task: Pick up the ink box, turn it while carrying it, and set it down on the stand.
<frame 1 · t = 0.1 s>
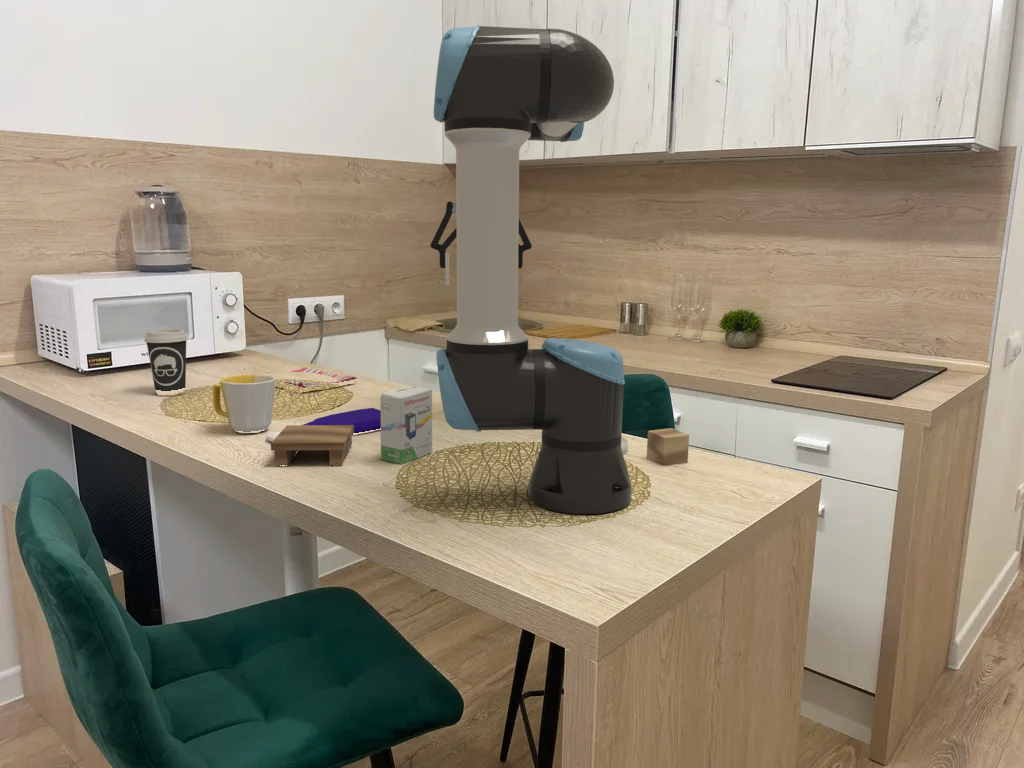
hand: (481, 285, 156), 28 cm above the counter, fingers open, 13 cm apart
purple bottle shape: (330, 435, 149), on the counter
ink box: (407, 457, 134), on the counter
oak block: (666, 460, 133), on the counter
pale grey dome: (602, 451, 139), on the counter
coffee cup: (170, 394, 184), on the counter
dish towel: (303, 385, 197), on the counter
stand: (315, 455, 134), on the counter
mug: (245, 430, 151), on the counter
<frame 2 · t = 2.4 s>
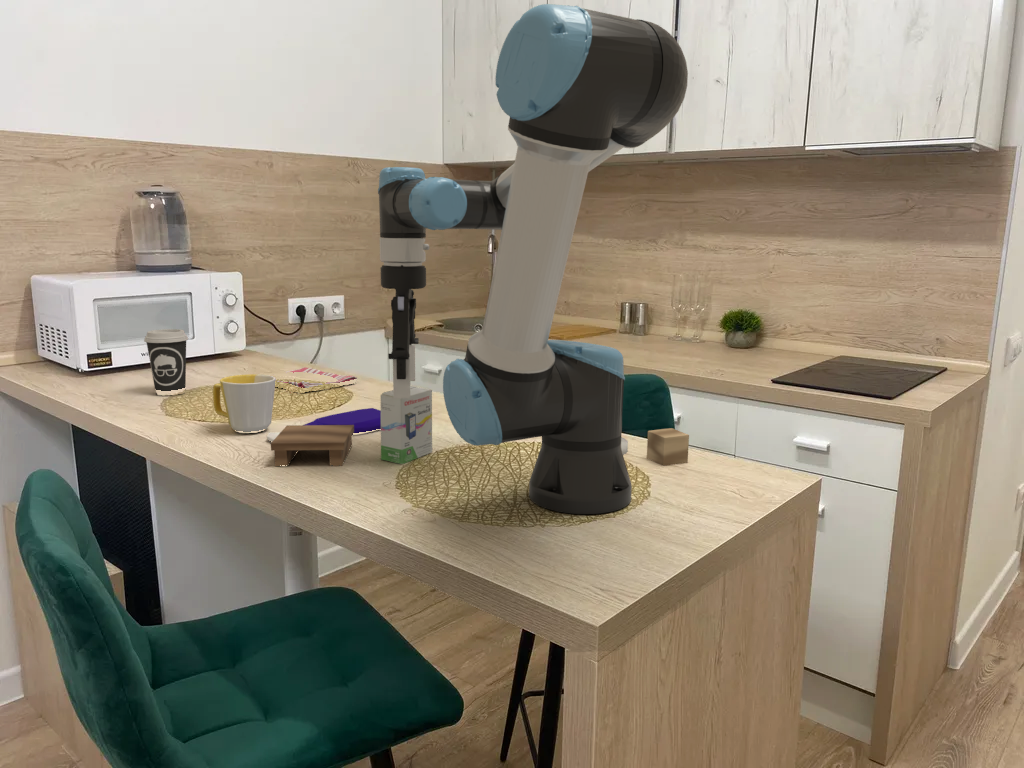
hand: (404, 389, 132), 12 cm above the counter, fingers open, 13 cm apart
nothing on the counter moved.
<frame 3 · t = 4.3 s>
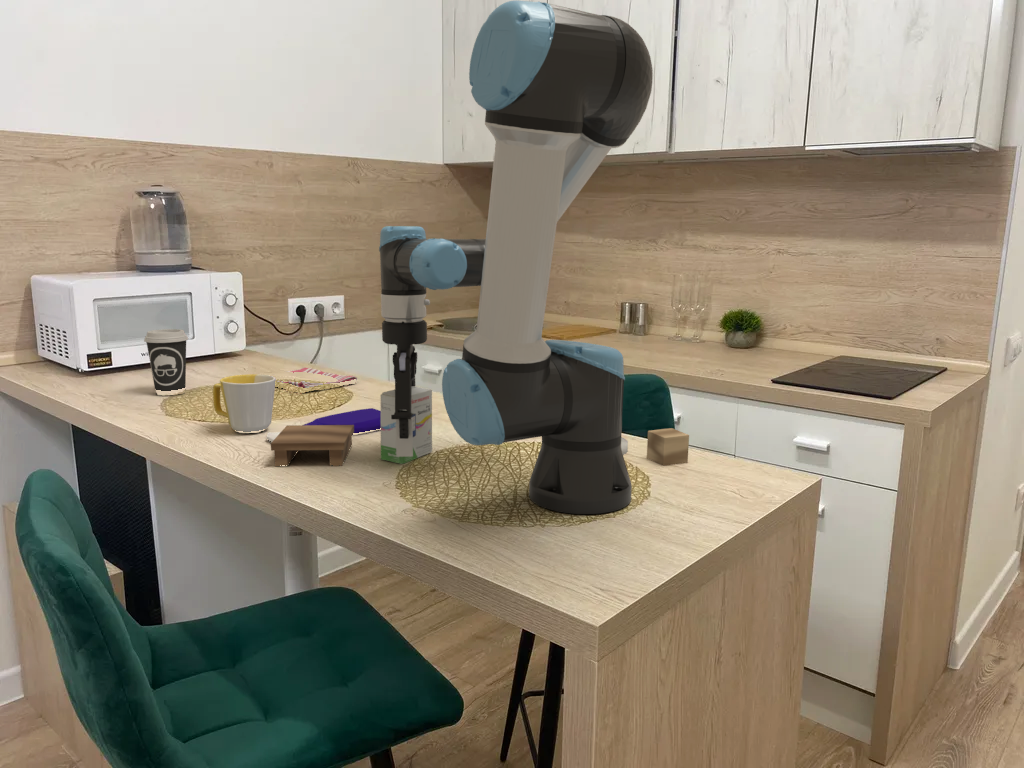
hand: (406, 447, 133), 2 cm above the counter, fingers closed on ink box, 9 cm apart
ink box: (407, 457, 134), on the counter, touching gripper
everything else where it was.
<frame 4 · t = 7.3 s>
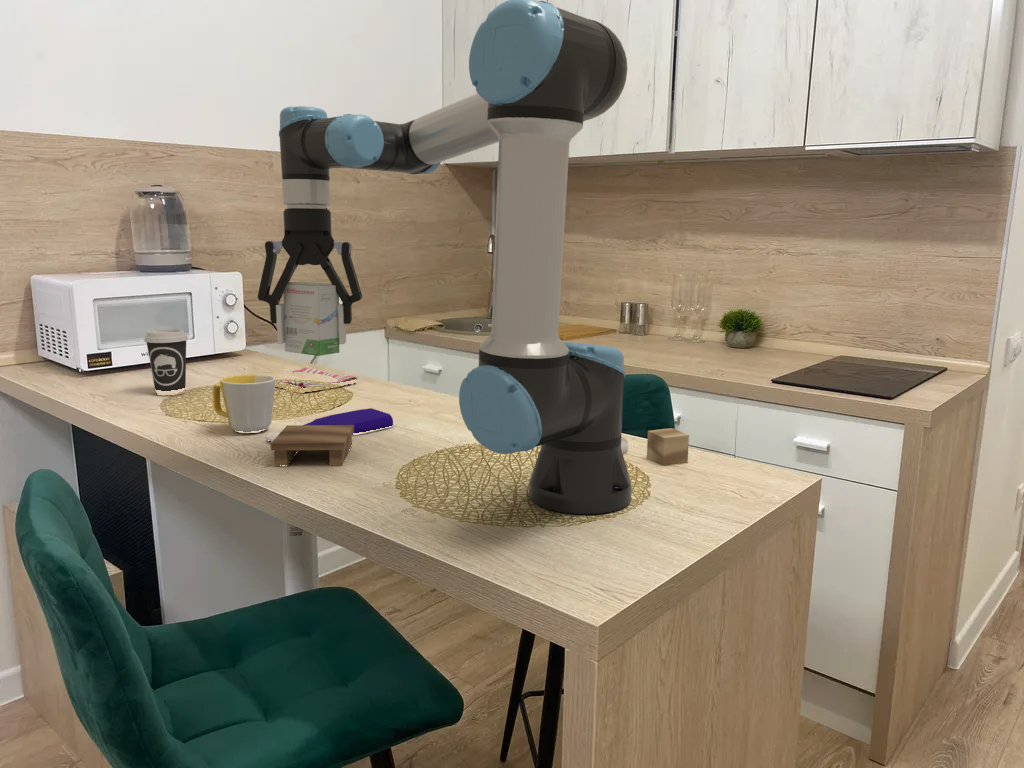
hand: (312, 342, 130), 20 cm above the counter, fingers closed on ink box, 9 cm apart
ink box: (313, 353, 130), point 18 cm above the counter, touching gripper
everything else where it was.
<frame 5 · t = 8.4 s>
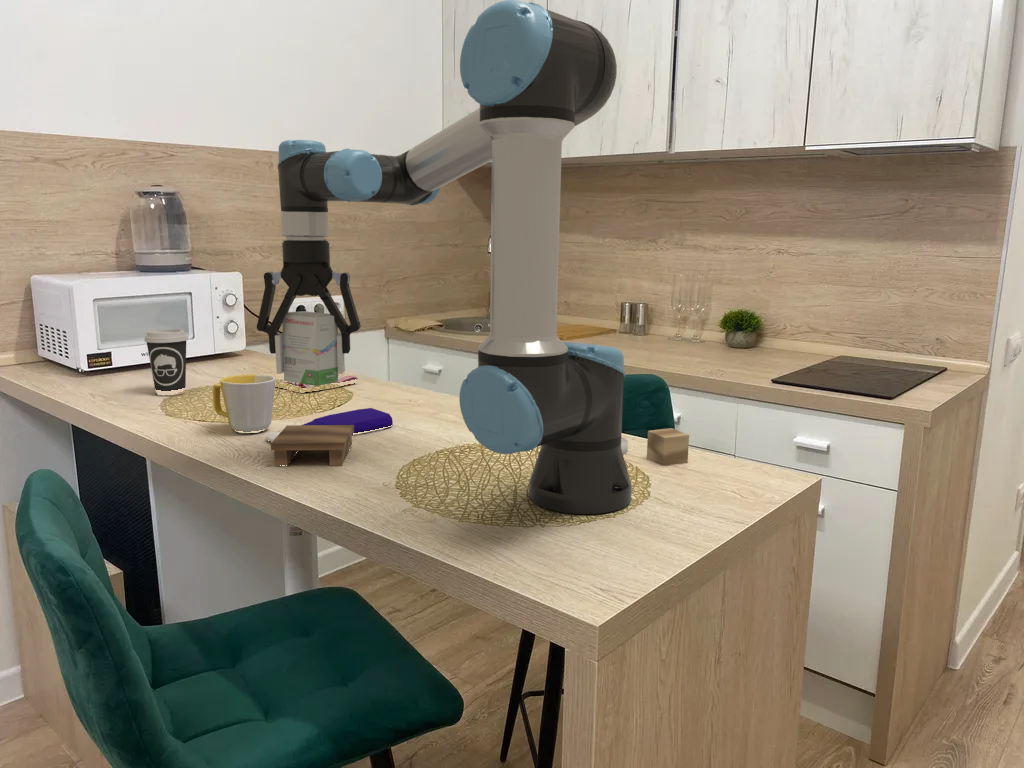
hand: (311, 372, 131), 15 cm above the counter, fingers closed on ink box, 9 cm apart
ink box: (311, 382, 131), point 13 cm above the counter, touching gripper
everything else where it was.
when the fingers open (7 cm above the counter, at t = 10.7 s): ink box stays where it is, resting on stand.
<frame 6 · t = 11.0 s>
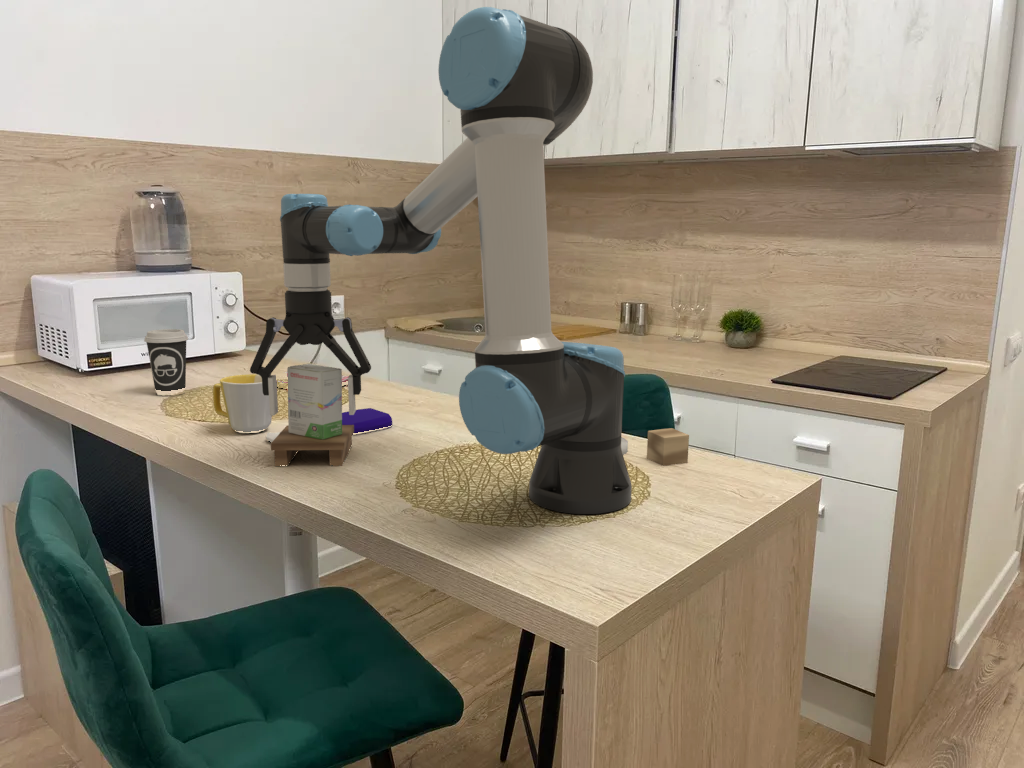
hand: (313, 413, 132), 8 cm above the counter, fingers open, 13 cm apart
ink box: (316, 434, 133), point 4 cm above the counter, touching stand
everything else where it was.
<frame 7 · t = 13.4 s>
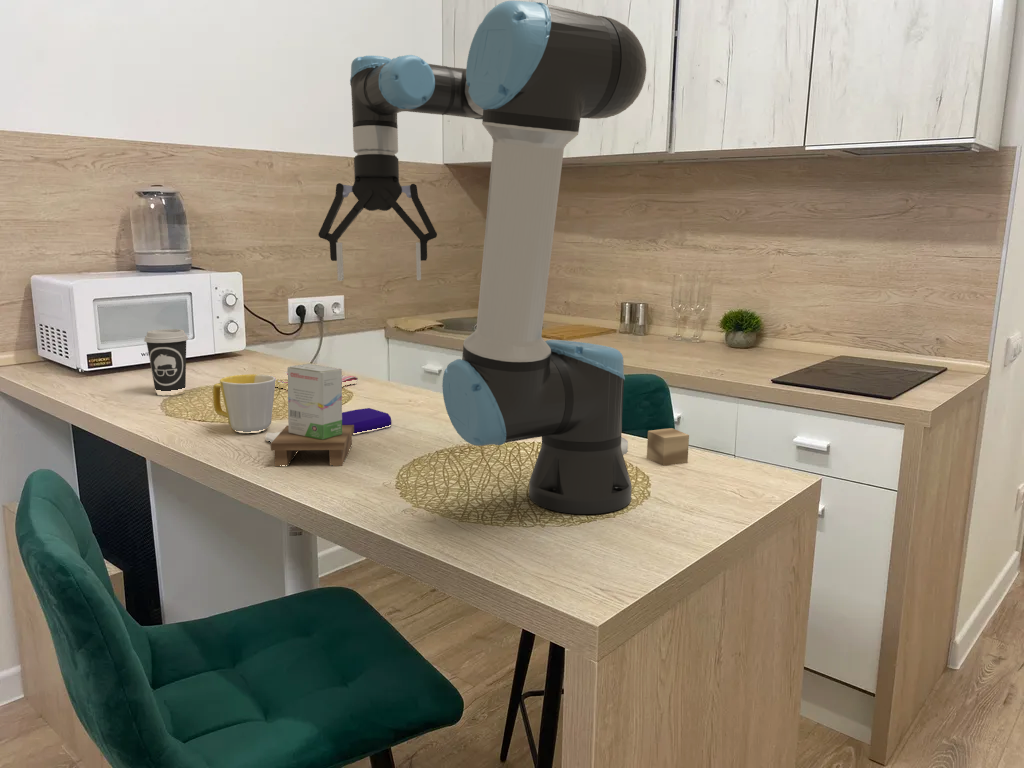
hand: (380, 280, 135), 30 cm above the counter, fingers open, 13 cm apart
nothing on the counter moved.
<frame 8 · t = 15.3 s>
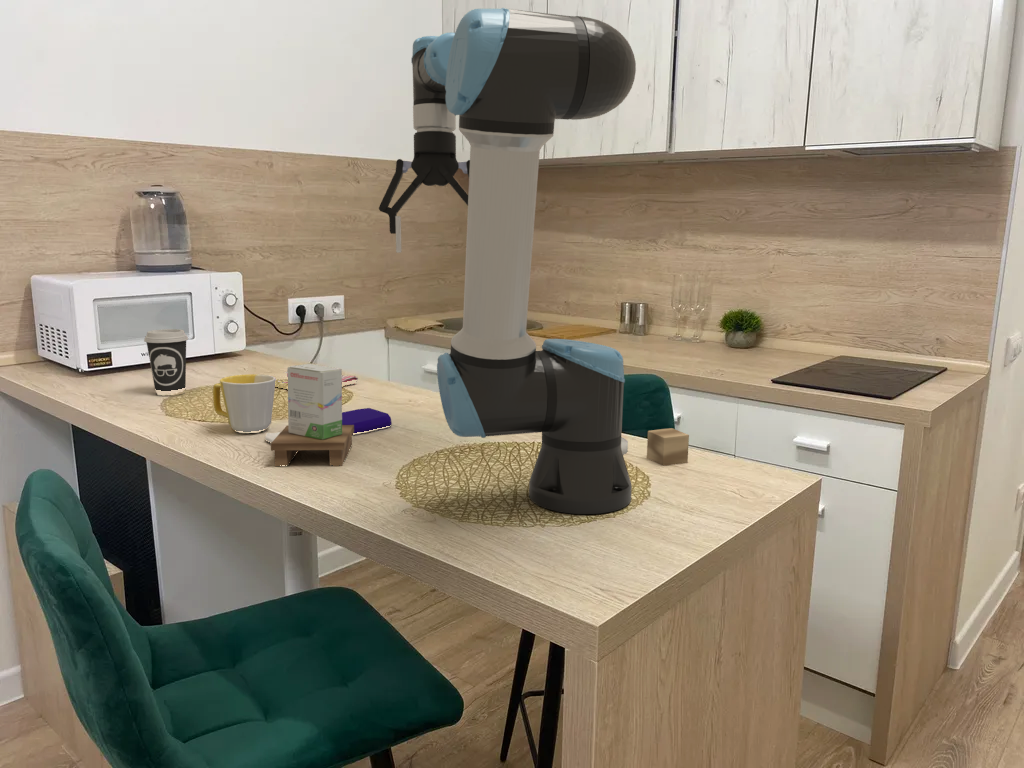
hand: (436, 252, 141), 35 cm above the counter, fingers open, 13 cm apart
nothing on the counter moved.
at the end: ink box 0.4 cm from the stand (horizontally); ink box touching stand; ink box tilted 0° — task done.
